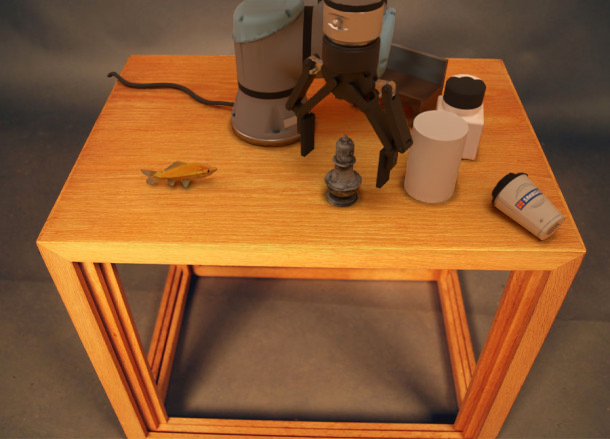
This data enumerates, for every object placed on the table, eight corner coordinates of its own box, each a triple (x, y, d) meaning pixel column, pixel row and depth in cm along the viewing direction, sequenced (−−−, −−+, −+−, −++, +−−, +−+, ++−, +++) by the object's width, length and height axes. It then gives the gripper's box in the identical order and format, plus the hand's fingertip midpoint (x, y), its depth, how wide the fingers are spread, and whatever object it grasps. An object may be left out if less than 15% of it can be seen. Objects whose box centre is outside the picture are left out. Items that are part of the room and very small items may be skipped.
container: (475, 161, 98) (492, 95, 89) (429, 155, 99) (442, 89, 90) (474, 136, 103) (490, 71, 94) (431, 131, 104) (443, 67, 96)
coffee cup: (531, 252, 85) (484, 208, 90) (566, 225, 85) (518, 183, 90) (538, 232, 79) (487, 186, 84) (575, 203, 79) (523, 159, 84)
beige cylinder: (454, 175, 95) (469, 113, 87) (453, 206, 89) (468, 144, 81) (406, 168, 96) (415, 107, 88) (401, 198, 90) (411, 136, 82)
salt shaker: (335, 212, 88) (338, 149, 80) (317, 191, 92) (318, 129, 84) (367, 201, 90) (373, 139, 82) (348, 180, 94) (352, 119, 86)
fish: (222, 177, 93) (214, 152, 89) (220, 185, 91) (212, 161, 88) (151, 185, 94) (140, 161, 91) (148, 193, 93) (137, 169, 90)
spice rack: (352, 106, 111) (355, 59, 104) (377, 85, 117) (382, 39, 110) (416, 129, 105) (424, 81, 98) (439, 106, 111) (448, 59, 104)
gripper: (257, 20, 75) (264, 151, 90) (426, 73, 65) (404, 211, 79) (291, 3, 80) (292, 130, 94) (454, 49, 69) (428, 184, 83)
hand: (343, 167), depth 86 cm, fingers open, 13 cm apart
